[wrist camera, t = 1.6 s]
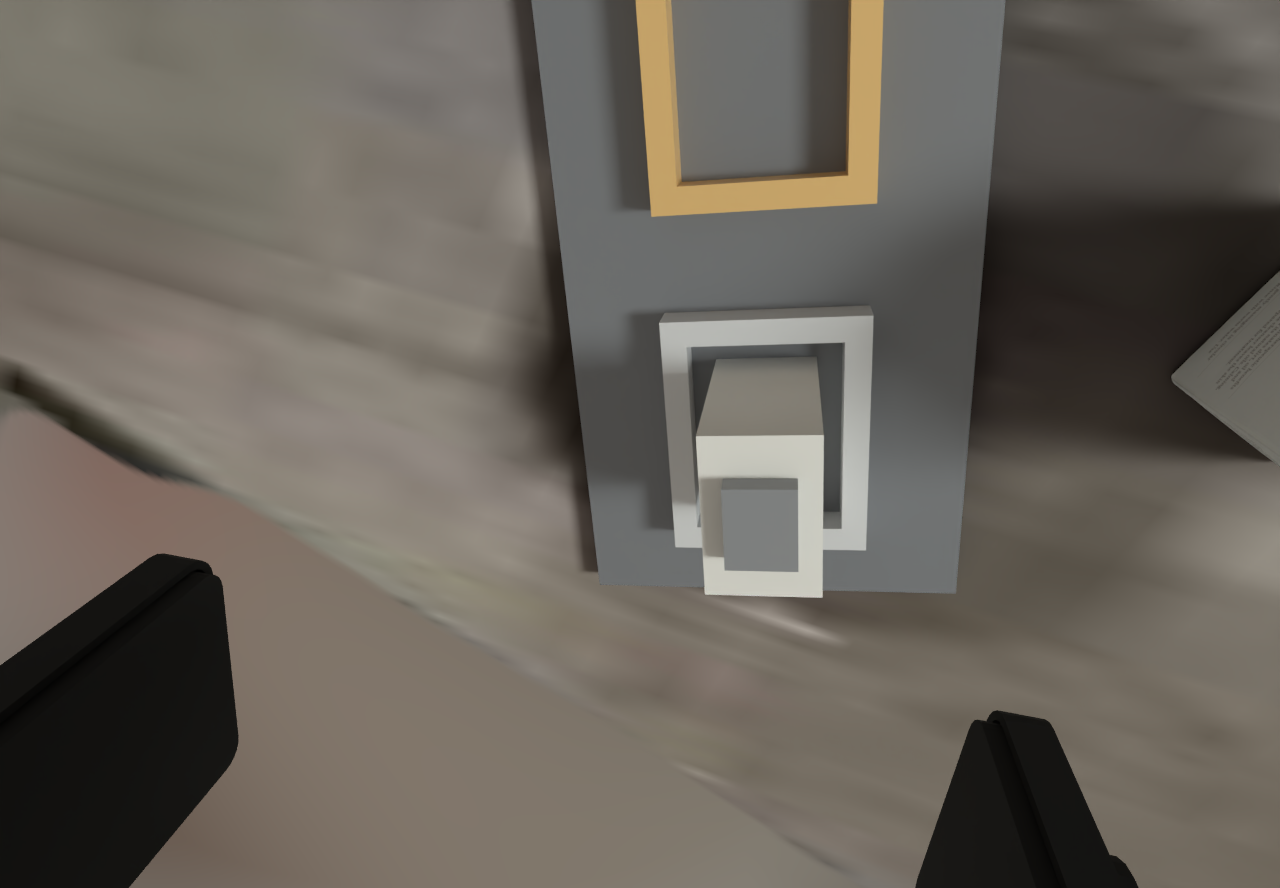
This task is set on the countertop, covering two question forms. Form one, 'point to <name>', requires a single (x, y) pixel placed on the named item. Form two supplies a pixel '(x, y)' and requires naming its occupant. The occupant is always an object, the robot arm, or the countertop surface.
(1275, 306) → the skincare box
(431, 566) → the countertop surface
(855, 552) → the socket panel
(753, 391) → the plug
